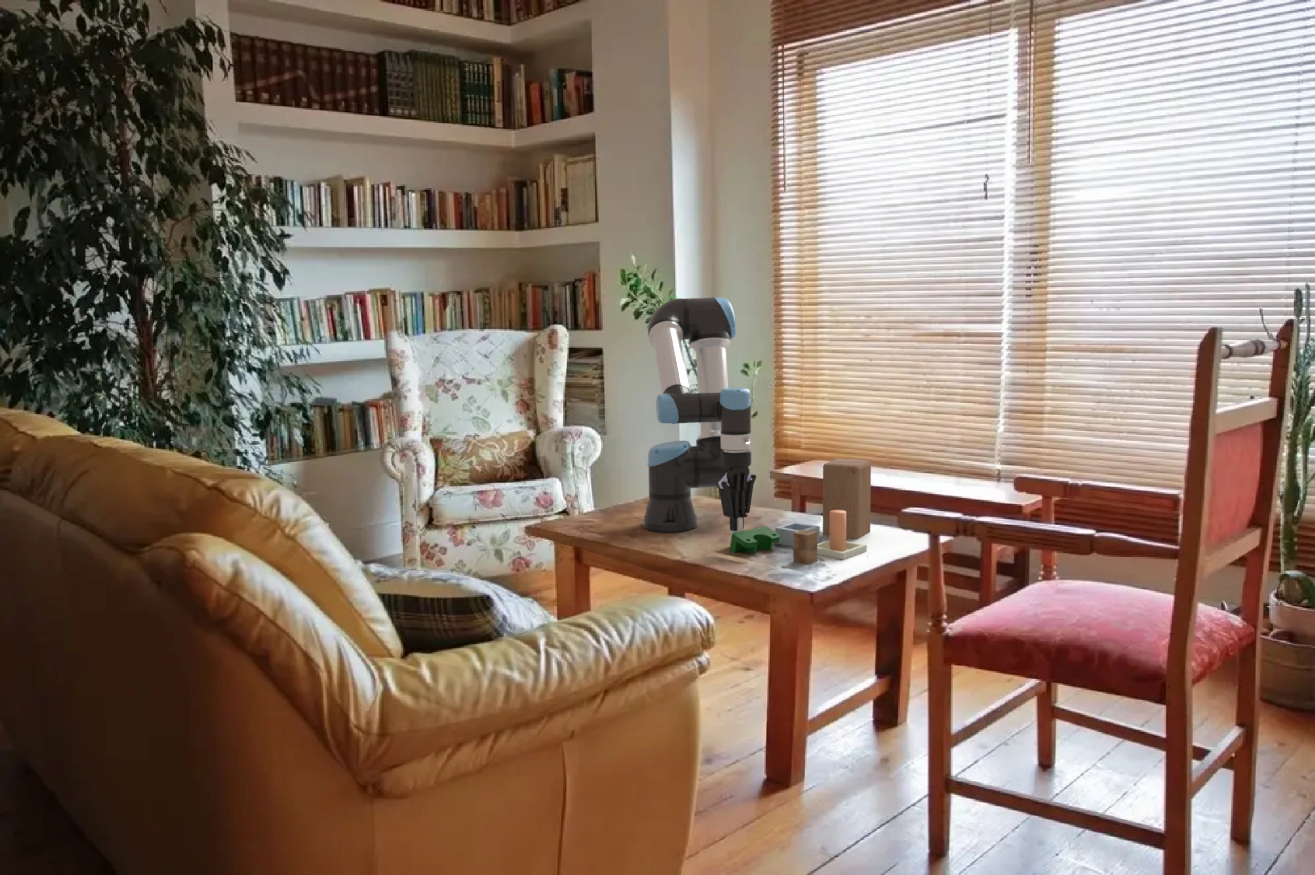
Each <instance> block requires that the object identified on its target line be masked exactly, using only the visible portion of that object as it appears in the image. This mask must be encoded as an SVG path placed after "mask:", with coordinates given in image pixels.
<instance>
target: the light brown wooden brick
mask: <svg viewBox="0 0 1315 875" xmlns="http://www.w3.org/2000/svg"><path fill="white" fill-rule="evenodd" d="M817 544H818V543H817V532H814V531H808V530H801V531H797V532H794V533H793V558H792V559H793V562H794V563H797V564H798V563H799V564H802V565H810V564H813V563H815V562H816V563H817V562H818V554H817Z"/></svg>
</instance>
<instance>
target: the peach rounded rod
mask: <svg viewBox="0 0 1315 875" xmlns="http://www.w3.org/2000/svg"><path fill="white" fill-rule="evenodd" d="M829 540H830V549H831V550H836V551H841V552H843V551H846V541H847V538H846V511H843V510H832V511H830V536H829Z"/></svg>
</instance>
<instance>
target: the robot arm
mask: <svg viewBox="0 0 1315 875" xmlns="http://www.w3.org/2000/svg"><path fill="white" fill-rule="evenodd" d="M736 323H737V322H736V316H735V312H734V308H733V306H732V303H731V301H729V300H728V299H727V298H724V297H714V296H712V297H694V298H692V297H691V298H690V297H689V298H681V297H680V298H672V299H670V300H668V301H666V302H664V303H663V304H661V305H660V306H659V307H658V308H657V309H656V310H655V311H654V312H653V314H652V316H651V318H650V320H649V323H648V327H647V335H648V342H649V343H650V344H651V346H652V347H653V348H654V355H655V360H656V367H657V371H658V378H659V383H660V384H659V385H660V389H661V394H658V395H657V397H656V401H655V402H656V404H655V406H656V418H657V421H658V422H659V423H661V424H672V425H676V424H677V425H678V424H690V423H691V424H692V423H693V424H694V423H695V424H696V423H700V432H701V433H700V435H699V436H698V437H697V438H696V439H695V440H696V441H695V443H696V444H695V445H691V442H690V441H688V440H673V441H666V442H662V443H658V444H656V445H653V446H652V447H650V449H649V450H648V453H647V454H648V456H647V457H648V459H647V466H648V500H647V501H648V502H647V505H646V508H645V514H644V515H643V520H642V521H643V522H642V523H643V525H642V526H643V528H644V529H646V530H649V531H653V532H660V533H661V532H662V533H673V532H674V533H676V532H677V533H678V532H686V531H691V530H694V529H695V528H697V527H698V524H699V523H698V516H697V514H696V512H695V508H694V504H693V500H692V497H691V496H692V494H691V493H692V492H691V491H692V489H699V488H700V489H701V488H703V489H704V488H718V492H719V498H720V503H721V509H722V513H723V514H722V515H723V516H724V517H726V518H729V531H730V538H731V537H732V533H735V532H740V531H744V529H745V518H748V514H749V513H750V511H751V506H752V498H753V492H754V491H753V490H754V483H755V481H756V479H757V475H756V474H753V473H751V472H750V471H751V470H750V468H749V467H750V466H751V465H752V451H751V450H750V449H752V437H751V436H752V435H751V433H752V431H751V430H752V421H751V420H752V418H751V417H752V413H751V411H752V398H751V390H750V389H749V388H748V387H740V386H739V387H737V386H736V387H735V386H734V387H732V386H731V387H729V376H728V375H729V374H728V373H729V372H728V360H727V349H728V348H729V346H731V343H732V342H731V340H732V339H734V338H735V337H736V334H737V333H736V332H737V328H736ZM684 340H686V341H687V340H688V341H689V346H690V348H691V349H693V351H695V358H696V374H697V388H698V389H697V391H698V392H692V390H691V389H692V388H691V385H690V379H689V376H688V370H687V364H686V360H685V354H684V351H683V346H682V344H683V343H682V341H684Z"/></svg>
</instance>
